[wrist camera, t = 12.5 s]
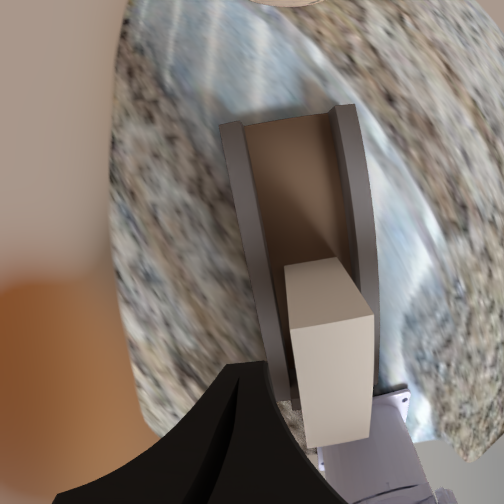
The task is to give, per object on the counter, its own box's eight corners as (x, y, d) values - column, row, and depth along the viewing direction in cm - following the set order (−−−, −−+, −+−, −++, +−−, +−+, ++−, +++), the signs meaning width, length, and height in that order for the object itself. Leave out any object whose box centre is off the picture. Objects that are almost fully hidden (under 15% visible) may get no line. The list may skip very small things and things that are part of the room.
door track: (370, 356, 19) (385, 392, 15) (272, 373, 20) (271, 412, 16) (345, 113, 15) (365, 99, 11) (223, 133, 16) (208, 123, 12)
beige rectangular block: (336, 256, 16) (374, 314, 10) (344, 358, 18) (368, 437, 11) (283, 265, 17) (289, 329, 10) (299, 365, 19) (307, 448, 12)
